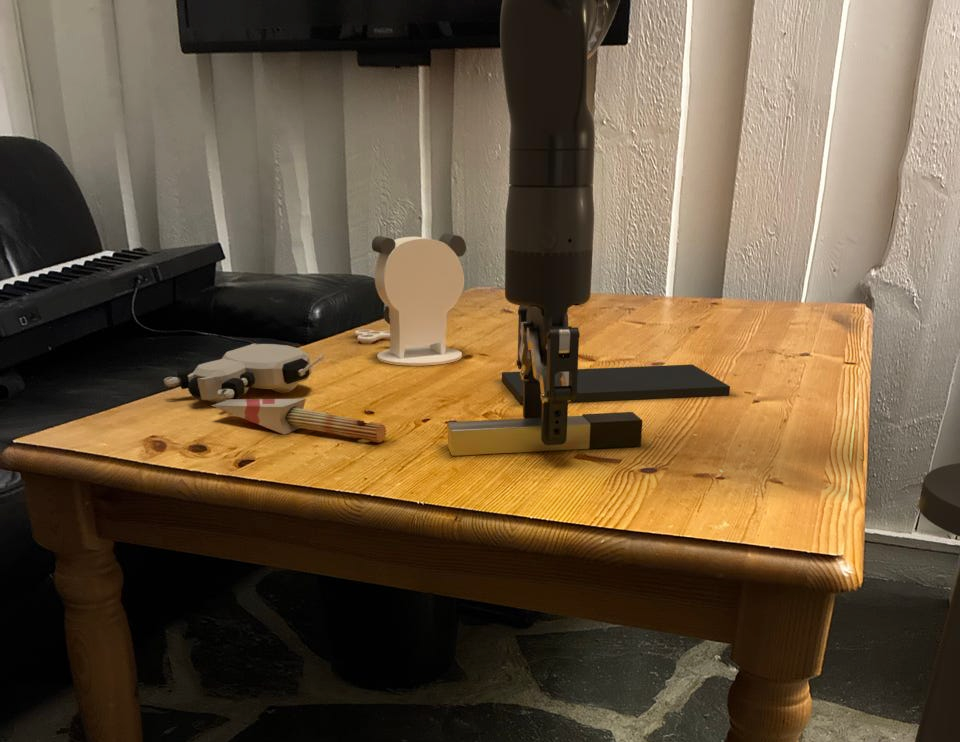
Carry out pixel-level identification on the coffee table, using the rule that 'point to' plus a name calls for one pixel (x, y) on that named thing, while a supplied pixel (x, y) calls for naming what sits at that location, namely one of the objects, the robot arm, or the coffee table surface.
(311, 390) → the coffee table surface
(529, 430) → the black-tipped grey bar
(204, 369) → the robot toy
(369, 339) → the fidget spinner
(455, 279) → the panda figurine
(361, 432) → the paintbrush
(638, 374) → the mat
